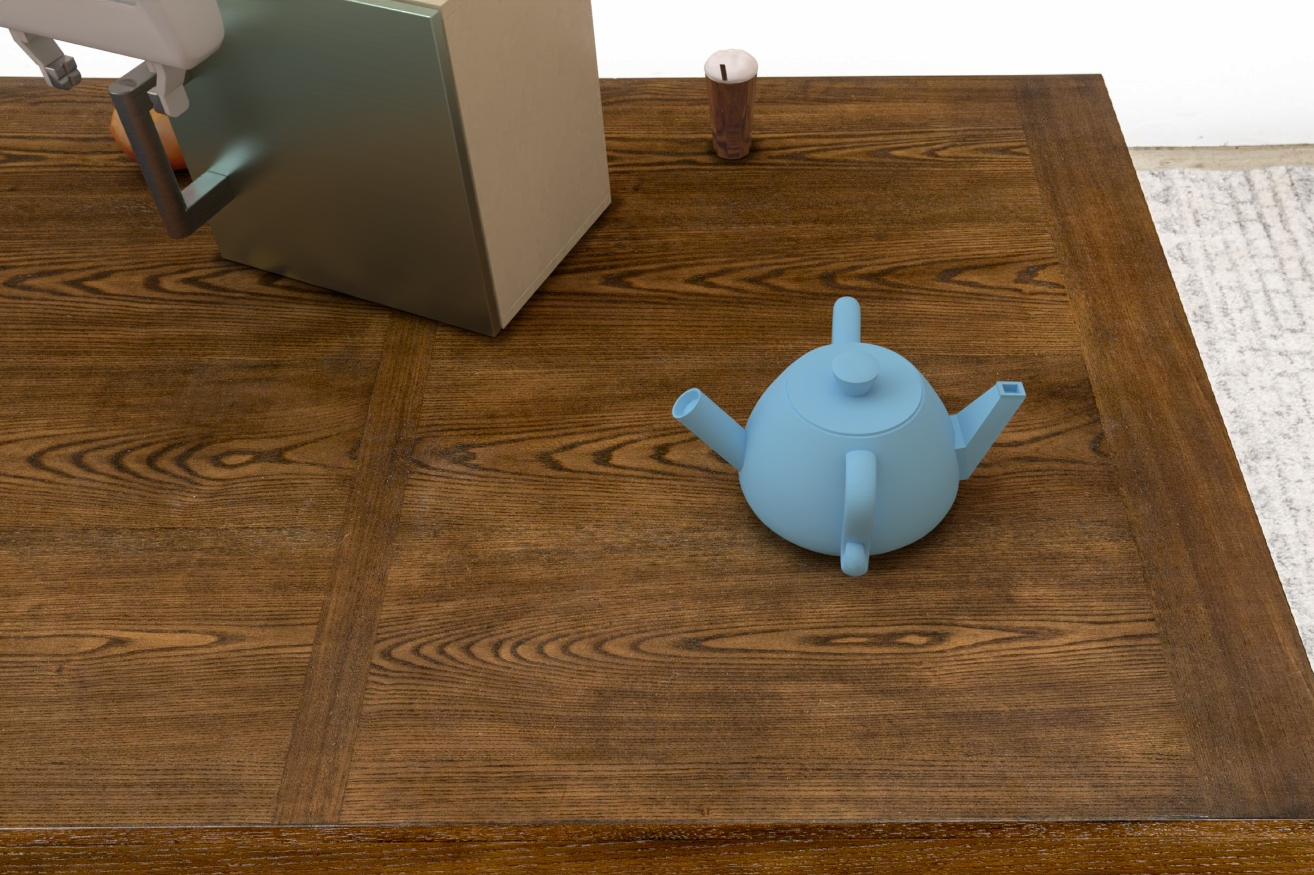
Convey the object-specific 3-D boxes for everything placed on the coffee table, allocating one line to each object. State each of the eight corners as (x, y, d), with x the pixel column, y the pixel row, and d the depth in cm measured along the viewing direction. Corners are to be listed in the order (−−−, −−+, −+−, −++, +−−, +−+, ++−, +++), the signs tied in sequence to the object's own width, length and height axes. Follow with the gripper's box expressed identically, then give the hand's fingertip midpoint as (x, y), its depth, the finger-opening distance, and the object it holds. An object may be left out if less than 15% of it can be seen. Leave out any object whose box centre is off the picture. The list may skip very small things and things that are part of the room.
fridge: (503, 329, 97) (441, 5, 78) (232, 250, 105) (114, -62, 86) (611, 202, 108) (580, -109, 89) (359, 139, 116) (280, -159, 97)
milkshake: (699, 166, 111) (695, 61, 104) (713, 133, 115) (710, 29, 108) (749, 172, 111) (749, 66, 103) (762, 139, 114) (763, 35, 107)
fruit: (237, 112, 117) (195, 66, 109) (223, 192, 115) (180, 151, 107) (153, 109, 117) (106, 63, 110) (138, 188, 116) (90, 148, 108)
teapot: (809, 370, 93) (815, 246, 85) (1013, 481, 85) (1040, 355, 77) (669, 490, 85) (659, 366, 77) (878, 623, 77) (892, 501, 69)
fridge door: (452, 387, 92) (373, 63, 74) (172, 301, 100) (36, -13, 81) (501, 330, 97) (439, 9, 78) (229, 251, 104) (113, -58, 86)
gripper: (-135, -114, 77) (-30, 92, 87) (125, -63, 71) (206, 152, 81) (-54, -153, 81) (38, 48, 91) (199, -108, 75) (268, 103, 85)
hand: (119, 98), depth 86 cm, fingers open, 8 cm apart
